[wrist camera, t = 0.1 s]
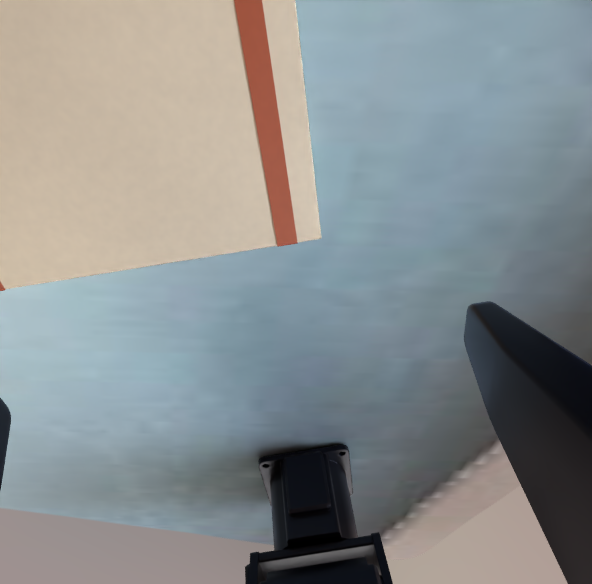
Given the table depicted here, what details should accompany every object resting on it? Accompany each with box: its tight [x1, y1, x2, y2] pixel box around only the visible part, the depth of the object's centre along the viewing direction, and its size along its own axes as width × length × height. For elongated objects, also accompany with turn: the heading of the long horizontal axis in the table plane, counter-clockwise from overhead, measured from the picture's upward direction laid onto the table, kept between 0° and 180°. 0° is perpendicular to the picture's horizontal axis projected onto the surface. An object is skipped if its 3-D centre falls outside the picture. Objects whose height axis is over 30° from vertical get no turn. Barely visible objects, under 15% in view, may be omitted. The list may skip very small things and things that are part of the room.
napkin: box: [0, 0, 321, 291], centre depth 20 cm, size 18×18×1 cm
